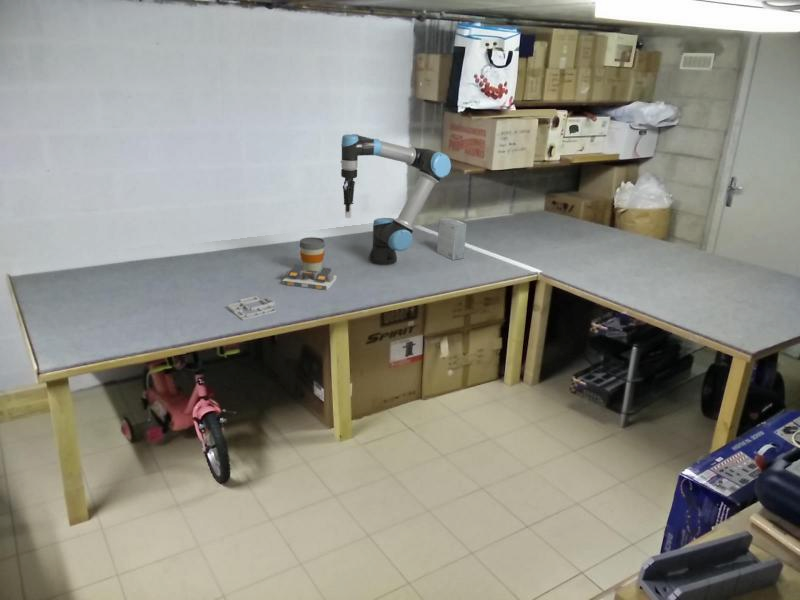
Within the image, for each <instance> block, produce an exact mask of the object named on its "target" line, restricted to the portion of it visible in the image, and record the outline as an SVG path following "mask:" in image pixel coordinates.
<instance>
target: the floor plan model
mask: <svg viewBox="0 0 800 600" xmlns="http://www.w3.org/2000/svg"><path fill="white" fill-rule="evenodd" d="M265 299H266V300H265ZM265 299H263V298H262V297H261V298H259V297H258V296H254V295H253V296H250V297H246V298H240V299H239V300H238V301H239V302H236V303H235V302H234V303H230V304H227V305H226V308H227V309H228V310H229V311H231V312H232V313H233V314H234V315H235V316H237V317H238V318H239V319H241V320H242V321H245V320H249V319H255V318H258V317H261V316H265V315H269V314H273V313H276V312H277V310H276V309H275V308H273V307H272V306H275V305H276V301H274V300H273V299H272V298H270V297H268V296H265ZM259 301H260V302H261V303H263V304H259V305H257V304H255V306H252V305H251V304H253V303H257V302H259ZM247 304H248V305H247ZM266 308H267V309H266ZM244 309H246V310H247V311H255V310H259V311H255V312H252V313H249V312H247V314H245V313H244V312H243V311H244ZM239 314H240V315H239ZM245 316H246V317H245Z"/></svg>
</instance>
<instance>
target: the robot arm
mask: <svg viewBox="0 0 800 600" xmlns="http://www.w3.org/2000/svg"><path fill="white" fill-rule="evenodd" d="M360 156H361V157H362V156H375V157H381V158H384V159H389V160H393V161H396V162H397V161H398V162H401V163H404V164H405V165H407V166H410V167H413V168H416V169H417V170H419V171H418V175H419V176H418V178H417V181H416V183H415V185H414V186H413V189H412V190H411V192H410V194H409V196H408V198H407V199H406V202H405V203H404V205H403V208H401V212H400V213H399V214H398V217H396V218H391V217H381V218H374V220H373V224H372V245H371V246H372V247H371V248H370V252H369V255H368V261H369V262H370V263H371V264H372V263H373V264H374V265H383V266H384V265H391V264H395V263H397V261H398V257H397V252H403V251H406V250H408V249H409V248H410V246H412V243H413V235H412V234H413V233H414V226H413V225H414V224H415V222H416V221H417V219H418V217H419V215H420V213H421V211H422V209H423V207H424V205H425V204H426V203H425V202H427V200H428V198H429V195H430V194H431V191H432V190H433V188H434V186H435V185H436V184H438V183H440V181H441V179H443V178H445V177H447V176H448V175H449V174H450V171H451V169H452V163H451V160H450V157H449V156H448V155H447V154H444V153H443V152H441V151H436V150H434V149H429V148H422V147H415V146H410V147H406V146H403V145H398V144H394V143H390V142H387V141H383V140H380V139H378V138H372V137H367V136H363V135H359V134H356V133H355V134H354V133H352V134H343V135H342V137H341V160H340V163H341V169H340V173H341V174H340V176H341V177H342V178H344V181H343V185H342V189H343V190H342V191H343V205H344V207H345V208H344V211H345V212H344V217H345V219H352V212H353V211H352V209H353V208H352V206H353V205H354V195H355V194H354V193H355V184H356V182H355V181H354V179H357V177H358V157H360Z"/></svg>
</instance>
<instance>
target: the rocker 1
mask: <svg viewBox="0 0 800 600" xmlns="http://www.w3.org/2000/svg"><path fill="white" fill-rule="evenodd" d="M303 268H304V267H303V264H295V265H294V266H293V267H292V270H291V272H290V274H289V278H295V279H297V277H298V276H299V274H300V273H301V271H303V270H304V269H303Z"/></svg>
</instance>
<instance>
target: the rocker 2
mask: <svg viewBox="0 0 800 600" xmlns="http://www.w3.org/2000/svg"><path fill="white" fill-rule="evenodd" d="M331 273H332V268H329V267H321V270H320V273H319V276H318V278H317V281H318V282H325V281H326V279H327V277H328V276H329V275H330V274H331Z"/></svg>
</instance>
